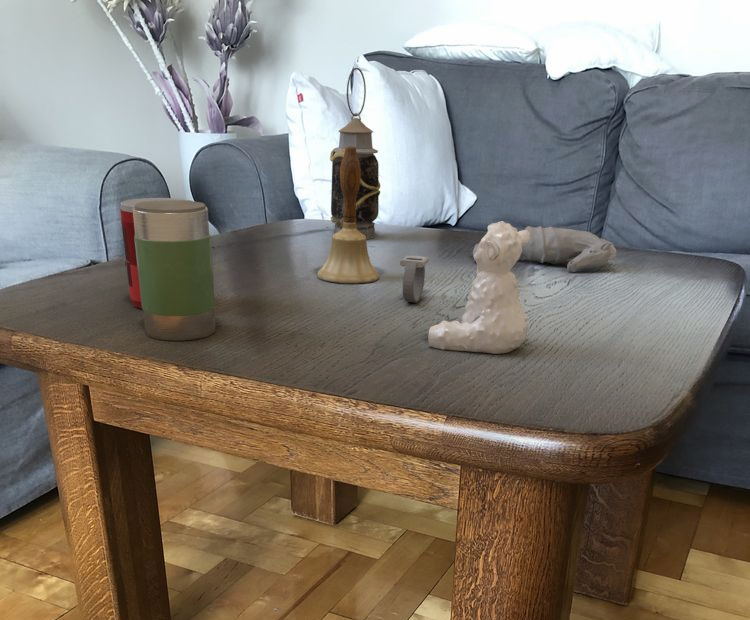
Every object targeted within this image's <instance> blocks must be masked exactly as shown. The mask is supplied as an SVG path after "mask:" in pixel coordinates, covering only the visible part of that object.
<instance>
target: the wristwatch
mask: <svg viewBox="0 0 750 620" xmlns="http://www.w3.org/2000/svg"><path fill="white" fill-rule="evenodd" d="M429 262H430V258H429V257H428V256H422V255H421V256H420V255H406V256H405V257H404V258H402V259H400V261H399V265H400V266H401V267H404V270H403V275H402V276H403V277H402V296H403V300H404V301H405V302H407V303H413V304H414V303H415V304H416V303H418V302H419V301H420V299H421V297H422V294H423V290H424V286H425V279H426V277H425V276H426V267H425V265H426V264H428V263H429Z"/></svg>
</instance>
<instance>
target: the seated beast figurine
mask: <svg viewBox="0 0 750 620" xmlns="http://www.w3.org/2000/svg"><path fill="white" fill-rule="evenodd" d="M529 239H530V233H529V232H528V230H525V229H523V230H522V229H521V230H519V231H518V229H517V228H516V227H515V226H512V225H511V224H510V223H509V222H505V221H503V220H501V221H497V222H493V223H490V224H489V225H488V226H487V232H486V234H485V235H483V236H482V238H481V239H480V241H479V243H480V244H479V243H478V244H479V246H478V249H477V251H476V253H475V255H474V258H473V260H474V261H475V262H476V263H475V264H476V269H475V272H476V276H475V278H474V280H473V281H472V283H471V288H470V292H469V294H468V300H467V303H466V305H465V312H464V314H462V315H461V322H459V320H452V321H448V320H442V321H440V323H437V324H435V325H431V326H430V328H429V329H428V338H427V341H428V347H430V348H431V347H432V348H434V349H440V350H442V351H443V350H449V351H459V352H471V353H486V354H493V355H494V354H495V355H500V354H507V353H510V352H512V351H514V350H516V349H518V348H520V347H521V345H522V344H523V342H524V341H526V340H527V333H528V329H529V326H530V323H529V321H528V319H529V317H528V316H527V315H526V313H525V311H524V309H523V307H522V304H521V299H520V298H519V295H520V292H521V291H520V289H519V285H518V283H519V282H518V280H517V279H516V275H515V274H514V272H513V271H511V269H512V268H513V267H514V266H515V265H516V264H517V262H518V261H519V260H520V258H521V255H522V254H521V253H522V246H523V245H526V244H527V243H528V242H529Z"/></svg>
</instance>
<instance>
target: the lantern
mask: <svg viewBox="0 0 750 620" xmlns="http://www.w3.org/2000/svg"><path fill="white" fill-rule="evenodd" d="M356 70H357V71H358V72H359V73H360V75H361V77H362V78H361V79H362V81H363V103H362V106H361V109H360V110H359V112H358V113H357V112H353V111H352V108H351V105H350V99H349V89H350V88H349V86H350V81H351V77H352V75H353V73H354V72H355V71H356ZM366 94H367V87H366V79H365V75H364V73H363V71H362V70H361V69H360V67H354V68H353V69H352V70H351V71H350V74H349V76H348V78H347V84H346V103H347V107H348V111H349V112H350V114H351V115H352V116H351V117H350V118H351V119H350V121H349V122H348V123H347V124H346V125H344V126H343V127H342V128H340V129H339V130H338V133H339V138H338V139H339V141H338V142H339V143H338V147H334V148H333V149H332V150H331V151H330V154H329V161H330V162H332V163H331V165H332V166H331V167H332V168H331V190H330V191H331V194H330V195H331V197H330V213H331V217H330V221H331V222H332V223H333V224H334V227H333V234H335V233H337V232H339V231H340V230H342V228H343V217H344V215H343V212H344V197H343V193H342V189H341V183H340V167H341V163H342V159H343V156H344V153H345V148H346V147H347V146H352V147H356V152H357V156H358V159H359V163H360V170H361V177H360V186H359V190H358V194H357V198H356V229H357V230H358V231H359V232H361V233H362V234H364V235H365V236H366V241H367V240H371V239H373V238H375V237H376V235H375V234H376V230H375V229H376V228H375V225H376V223H375V222H374V221H376V220H377V219H378V217H379V205H380V204H379V203H380V202H379V199H380V198H379V196H380V195H381V190H380V189H381V183H380V179H379V178H380V177H379V176H380V175H379V171H380V170H379V166H380V165H379V161H378V158H377V157H376V155H375V154H378V153H379V150H378V149H375V148H373V147H374V146H373V136H372V134H373V133H374V131H373V130H372V129H371V128H369V127H368V126H367V125H365V124H364V122H362V117H361V114H362V112H363V110H364V107H365V102H366Z"/></svg>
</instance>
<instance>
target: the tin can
mask: <svg viewBox="0 0 750 620" xmlns="http://www.w3.org/2000/svg"><path fill="white" fill-rule="evenodd" d="M133 219H134V228H135V236H134V239H135V248H136V257H137V267H138V276H139V286H140V295H141V305H142V309H141V310H142V313H143V321H144V322H143V323H144V331H145V335H146V336H148V337H149V338H152V339H155V340H160V341H167V342H168V341H172V342H175V341H176V342H184V341H185V342H186V341H193V340H199V339H204V338H208V337H210V336H212V335H214V333H215V332H216V318H215V316H216V315H215V307H216V302H215V301H216V299H215V286H214V284H215V283H214V270H213V254H212V238H211V237H212V236H211V234H210V224H209V209H208V207H207V206H206V204H205V203H203V202H200V201H194V200H191V201H184V200H157V201H146V202H140V203H137V204H135V205H134V208H133Z"/></svg>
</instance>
